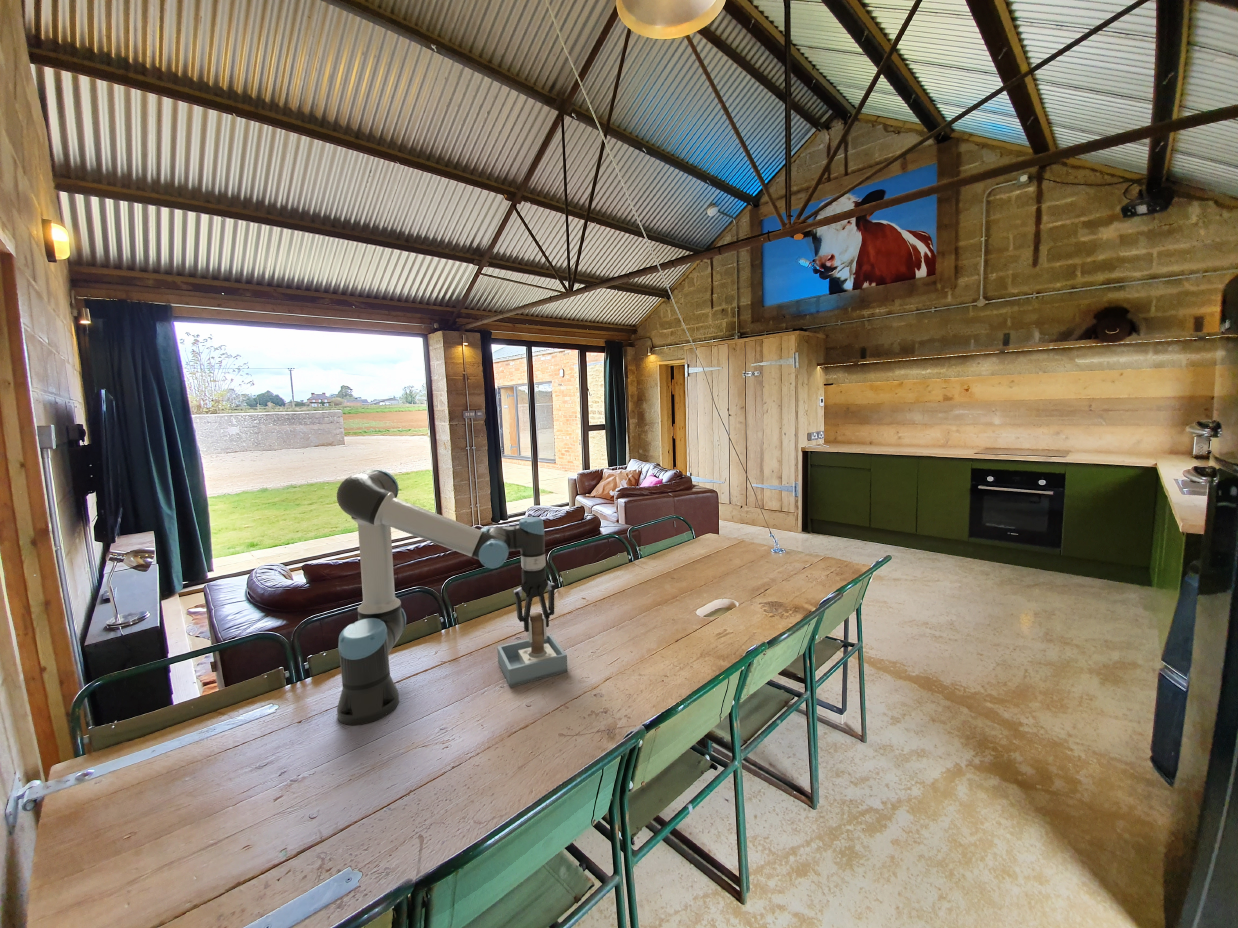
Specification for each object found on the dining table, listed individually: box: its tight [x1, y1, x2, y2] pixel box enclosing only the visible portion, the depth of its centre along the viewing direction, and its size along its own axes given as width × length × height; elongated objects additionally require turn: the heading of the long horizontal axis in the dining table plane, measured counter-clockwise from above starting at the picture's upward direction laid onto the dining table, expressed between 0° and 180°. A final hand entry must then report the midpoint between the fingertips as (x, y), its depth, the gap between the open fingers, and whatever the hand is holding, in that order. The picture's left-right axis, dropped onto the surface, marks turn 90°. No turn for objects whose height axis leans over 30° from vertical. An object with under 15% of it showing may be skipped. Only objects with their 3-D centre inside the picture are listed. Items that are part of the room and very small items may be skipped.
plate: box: [518, 643, 557, 664], centre depth 153 cm, size 10×10×3 cm
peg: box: [529, 611, 544, 654], centre depth 152 cm, size 4×4×12 cm
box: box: [496, 633, 568, 688], centre depth 152 cm, size 18×16×6 cm
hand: (537, 638), depth 152 cm, fingers closed on peg, 4 cm apart
